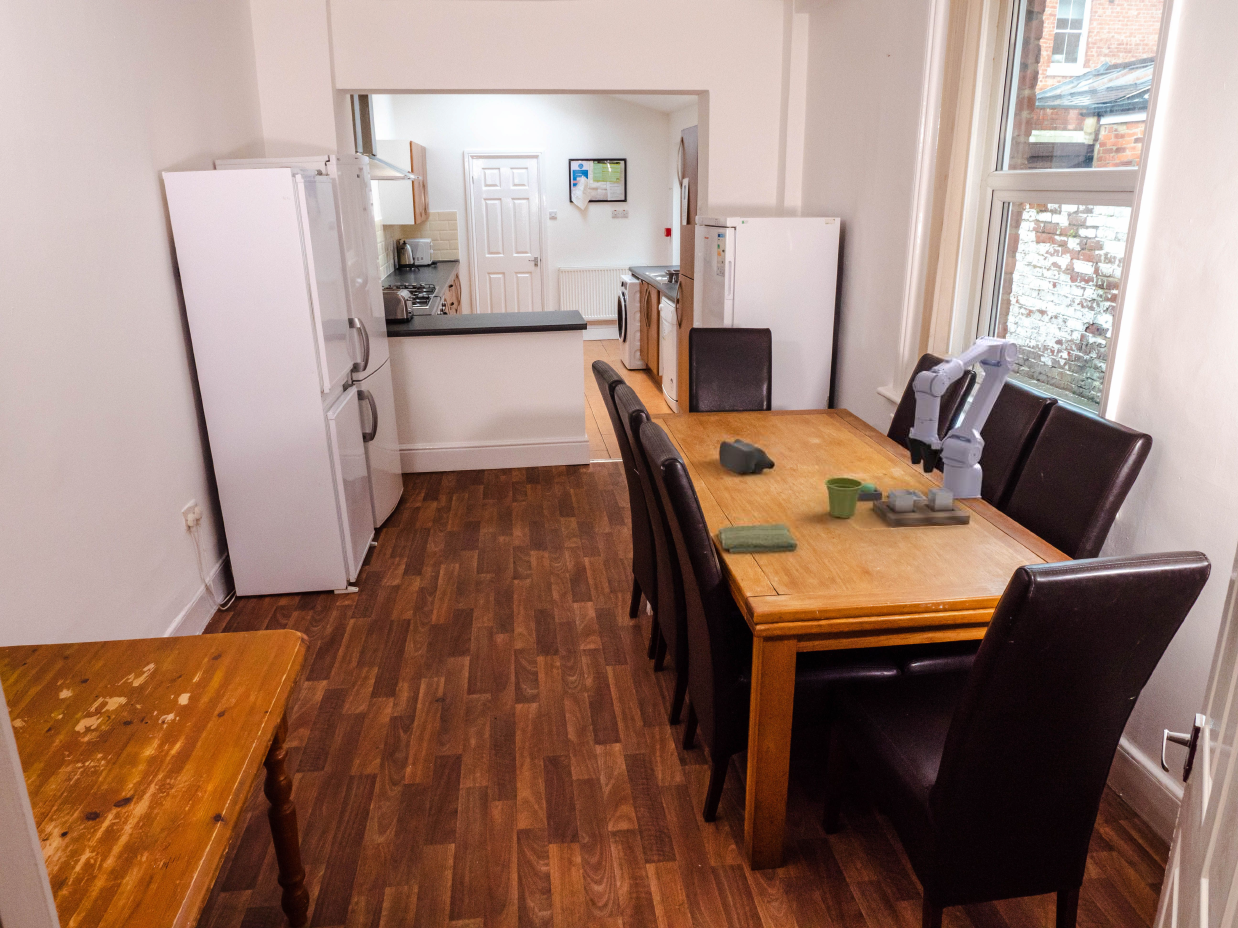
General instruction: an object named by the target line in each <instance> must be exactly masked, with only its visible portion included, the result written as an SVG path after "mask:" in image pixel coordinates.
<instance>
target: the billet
mask: <svg viewBox="0 0 1238 928" xmlns="http://www.w3.org/2000/svg"><path fill="white" fill-rule="evenodd" d="M889 491H890V497H889V500H888V501H889V509H890V510H891V511H892V512H893V513H912V510H913V499H914V494H913V493H911V492H910V491H911V490H909V489H908V488H903V489H902V488H900V489H899V488H898V489H897V488H896V489H889Z"/></svg>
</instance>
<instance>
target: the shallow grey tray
mask: <svg viewBox="0 0 1238 928" xmlns="http://www.w3.org/2000/svg"><path fill="white" fill-rule="evenodd" d="M909 491H910V492H911V493H913V494H914V499H913V500H923V499H928V497H926V496H924V495H923V494H922V493H921V492H919V490H917V489H916V490H909ZM887 497H889V498H890V490H889V491H887Z"/></svg>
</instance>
